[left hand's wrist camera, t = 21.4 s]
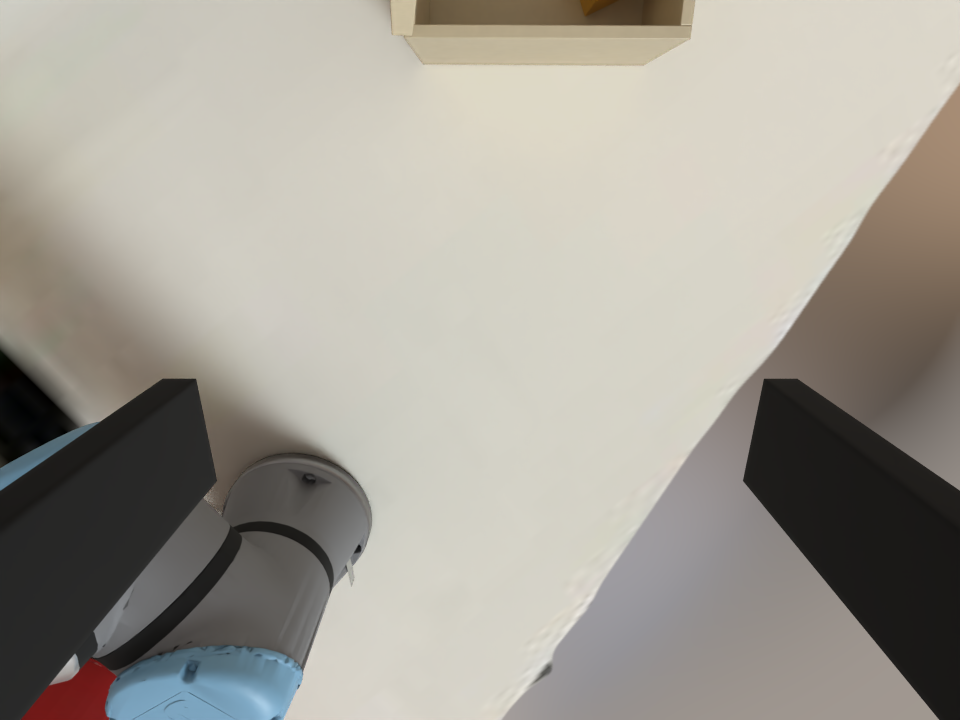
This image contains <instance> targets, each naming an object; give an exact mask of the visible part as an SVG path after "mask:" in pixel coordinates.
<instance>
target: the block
mask: <svg viewBox="0 0 960 720" xmlns="http://www.w3.org/2000/svg"><path fill="white" fill-rule="evenodd" d="M616 1H618V0H580V2H581V6H582V9H583V12H584V16H588V15H590V14H592V13H594V12H596V11H598V10H600V9H602V8H604V7H606V6H608V5H610V4H612V3H614V2H616Z"/></svg>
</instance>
